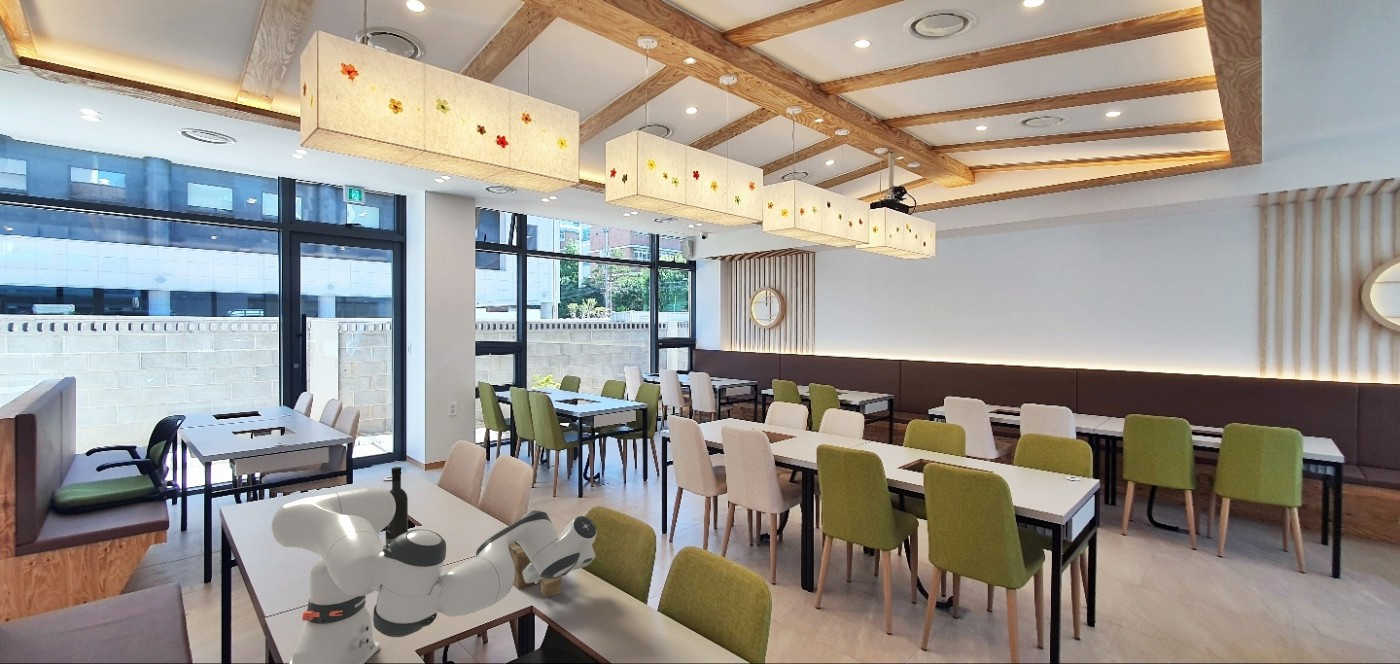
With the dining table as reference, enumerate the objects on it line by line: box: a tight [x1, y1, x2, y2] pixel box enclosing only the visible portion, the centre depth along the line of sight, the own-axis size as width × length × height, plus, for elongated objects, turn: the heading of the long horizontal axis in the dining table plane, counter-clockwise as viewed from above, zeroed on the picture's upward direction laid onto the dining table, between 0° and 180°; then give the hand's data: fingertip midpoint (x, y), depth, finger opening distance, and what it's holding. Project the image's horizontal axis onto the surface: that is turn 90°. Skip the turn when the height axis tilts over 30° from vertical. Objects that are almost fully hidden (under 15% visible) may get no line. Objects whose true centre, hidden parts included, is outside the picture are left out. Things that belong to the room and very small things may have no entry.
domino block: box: [540, 576, 562, 598], centre depth 179 cm, size 3×5×8 cm, turn 130°
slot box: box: [509, 542, 541, 590], centre depth 190 cm, size 13×13×11 cm
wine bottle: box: [384, 466, 409, 544], centre depth 206 cm, size 6×6×30 cm
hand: (550, 577), depth 179 cm, fingers open, 7 cm apart
